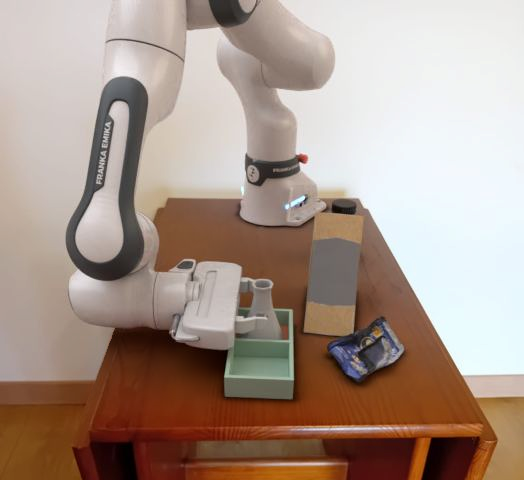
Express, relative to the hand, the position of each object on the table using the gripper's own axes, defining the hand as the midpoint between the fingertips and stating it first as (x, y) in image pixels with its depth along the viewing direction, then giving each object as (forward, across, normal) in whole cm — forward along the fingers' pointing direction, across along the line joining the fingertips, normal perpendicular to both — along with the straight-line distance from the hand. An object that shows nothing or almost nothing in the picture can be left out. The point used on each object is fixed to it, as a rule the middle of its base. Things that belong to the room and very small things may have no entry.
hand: (268, 304), depth 82 cm
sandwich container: (+11, +10, +7) cm, 16 cm away
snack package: (+15, -4, +7) cm, 18 cm away
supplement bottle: (+14, +31, +7) cm, 35 cm away
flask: (-1, 0, +6) cm, 7 cm away
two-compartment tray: (-1, -4, +7) cm, 8 cm away
